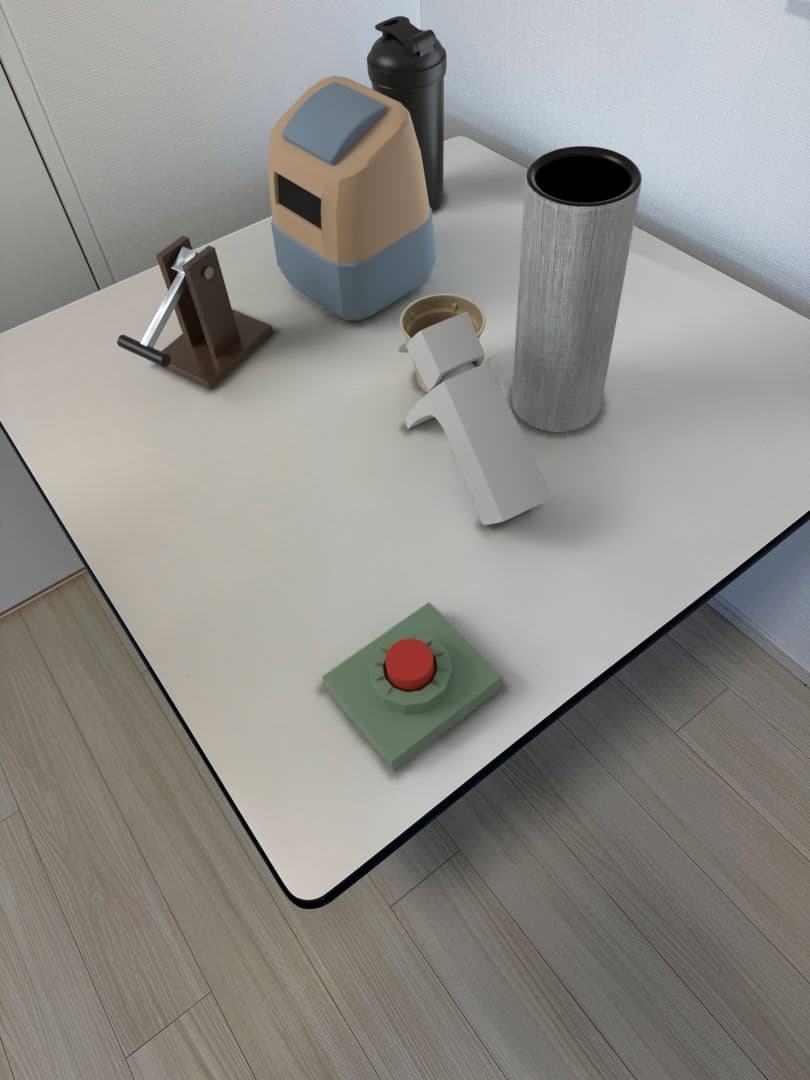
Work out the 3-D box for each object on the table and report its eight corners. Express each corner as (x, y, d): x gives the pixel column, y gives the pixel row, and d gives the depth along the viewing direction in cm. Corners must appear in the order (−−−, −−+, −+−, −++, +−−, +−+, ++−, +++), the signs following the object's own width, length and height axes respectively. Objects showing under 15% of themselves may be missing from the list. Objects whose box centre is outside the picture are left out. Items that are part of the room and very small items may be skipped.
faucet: (502, 522, 77) (414, 325, 75) (448, 530, 92) (374, 367, 91) (557, 495, 78) (472, 301, 77) (494, 508, 94) (423, 347, 92)
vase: (615, 390, 93) (661, 160, 71) (576, 446, 88) (612, 217, 67) (537, 361, 97) (558, 134, 75) (495, 413, 92) (504, 187, 70)
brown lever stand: (210, 390, 97) (177, 292, 86) (156, 364, 101) (118, 268, 90) (273, 333, 103) (250, 235, 92) (220, 311, 106) (192, 213, 95)
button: (406, 699, 68) (405, 689, 66) (377, 666, 70) (375, 656, 68) (443, 671, 69) (443, 661, 68) (414, 640, 71) (413, 629, 70)
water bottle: (417, 174, 124) (409, 3, 105) (463, 199, 119) (463, 25, 100) (365, 200, 120) (347, 28, 102) (410, 228, 115) (399, 53, 97)
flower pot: (501, 377, 96) (503, 317, 89) (445, 419, 92) (443, 360, 85) (443, 342, 100) (441, 282, 93) (387, 381, 96) (381, 322, 89)
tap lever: (169, 371, 92) (156, 362, 89) (125, 350, 94) (112, 341, 92) (224, 268, 92) (212, 257, 90) (179, 251, 95) (167, 240, 92)
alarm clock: (271, 285, 109) (231, 107, 90) (366, 232, 115) (347, 55, 97) (351, 341, 101) (326, 159, 83) (448, 281, 107) (445, 99, 89)
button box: (393, 772, 68) (389, 753, 64) (325, 688, 73) (318, 666, 70) (501, 688, 72) (503, 667, 68) (429, 614, 77) (428, 590, 73)
